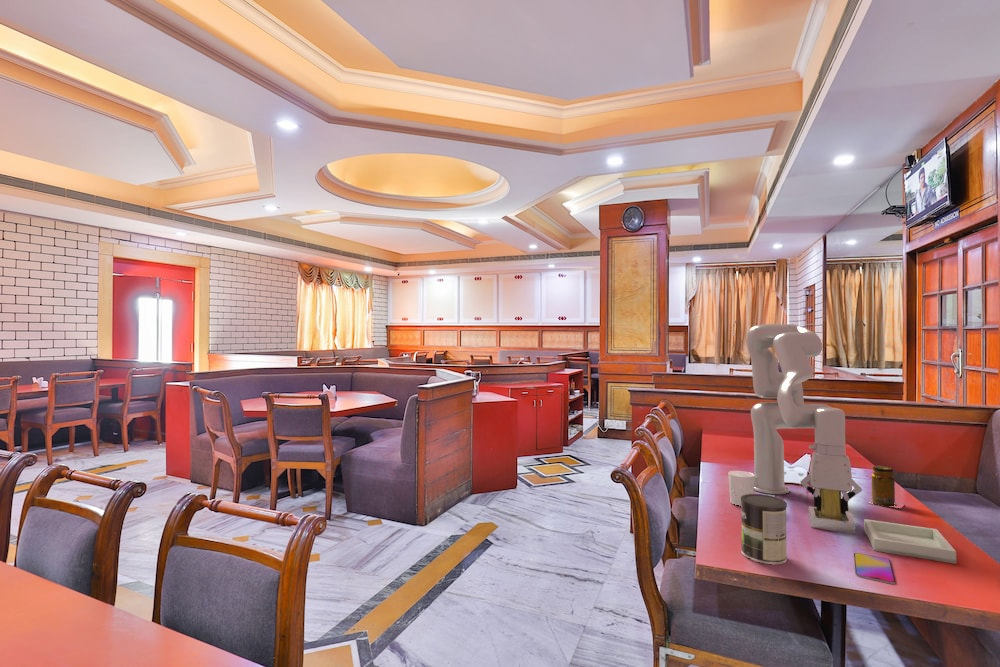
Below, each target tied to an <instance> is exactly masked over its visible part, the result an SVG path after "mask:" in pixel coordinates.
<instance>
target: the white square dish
mask: <svg viewBox="0 0 1000 667" xmlns="http://www.w3.org/2000/svg"><path fill="white" fill-rule="evenodd" d="M842 518H843V520H838V519H831V518H824V517H819V511H817V507H814V506H808V519H809V523H810V526H811V528H813V529H819V530H827V531H833V532H840V533H844V534H846V533H847V534H853V535H855V534H856V523H855V521H854V518H853V516H852V513H851V512H850V511H846V515H843V514H842Z"/></svg>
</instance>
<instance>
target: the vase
mask: <svg viewBox="0 0 1000 667" xmlns="http://www.w3.org/2000/svg"><path fill="white" fill-rule="evenodd" d="M819 497H820V511H819V517H824V518H831V519H838V520H843V518H842V502H841V499H842V492H841V491H834V490H825V489H821V490H820V492H819Z"/></svg>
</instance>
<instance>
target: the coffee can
mask: <svg viewBox="0 0 1000 667" xmlns="http://www.w3.org/2000/svg"><path fill="white" fill-rule="evenodd" d="M787 507H788V503H787V501H785V500H783V499H782V498H780V497H777V496H773V495H770V494H769V495H767V494H764V493H763V494H762V493H754V494H746V495H743V496H741V507H740V508H741V551H740V552H741V554H742V555H743V557H745V556H746V557H747V558H746V557H745V558H746V559H748V558H750V559H751V560H750V559H749V560H750V561H752V560H754V561H753V562H755V561H757V562H756V563H758V562H760V563H759V564H762V563H764V565H769V564H772V565H773V566H774V565H775V566H777V565H778V564H779V565H783V563H784V564H786V562H787V561H788V558H787V556H788V555H787ZM772 565H771V566H772ZM779 565H778V566H779Z"/></svg>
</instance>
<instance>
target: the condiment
mask: <svg viewBox="0 0 1000 667" xmlns="http://www.w3.org/2000/svg"><path fill="white" fill-rule="evenodd" d="M872 470H873V471H872V473H871V501H872V502H873V503H875V504H878V505H877V506H879V505H883V506H882V507H887V506H894V505H895V504H894V503H896V497H895V495H896V492H895V490H896V488H895V485H896V483H895V481H896V480H895V477H894V472H893V471H894V469H893V468H892V467H889V466H882V465H874V466H873V467H872ZM873 503H871V502H870V501H868V502H867V504H872V505H874V504H873ZM887 508H888V507H887ZM890 508H891V509H895V510H896V509H897V510H901V509H902V508H899V509H898V508H894V507H889V509H890Z"/></svg>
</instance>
